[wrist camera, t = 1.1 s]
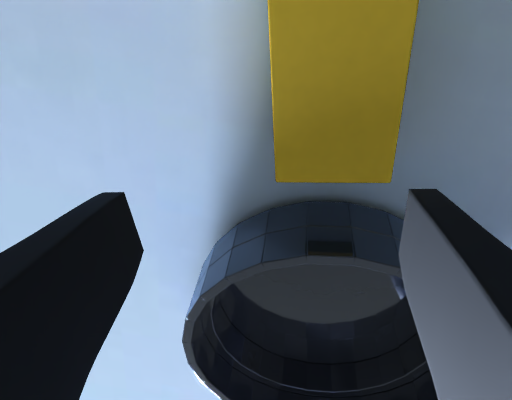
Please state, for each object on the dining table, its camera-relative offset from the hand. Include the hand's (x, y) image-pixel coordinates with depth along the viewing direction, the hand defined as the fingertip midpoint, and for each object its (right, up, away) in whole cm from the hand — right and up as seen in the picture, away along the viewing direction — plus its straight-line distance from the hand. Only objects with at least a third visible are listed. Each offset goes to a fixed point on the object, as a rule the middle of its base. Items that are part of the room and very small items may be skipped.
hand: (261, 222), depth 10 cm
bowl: (+4, -5, +14) cm, 15 cm away
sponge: (+3, +6, +6) cm, 9 cm away
